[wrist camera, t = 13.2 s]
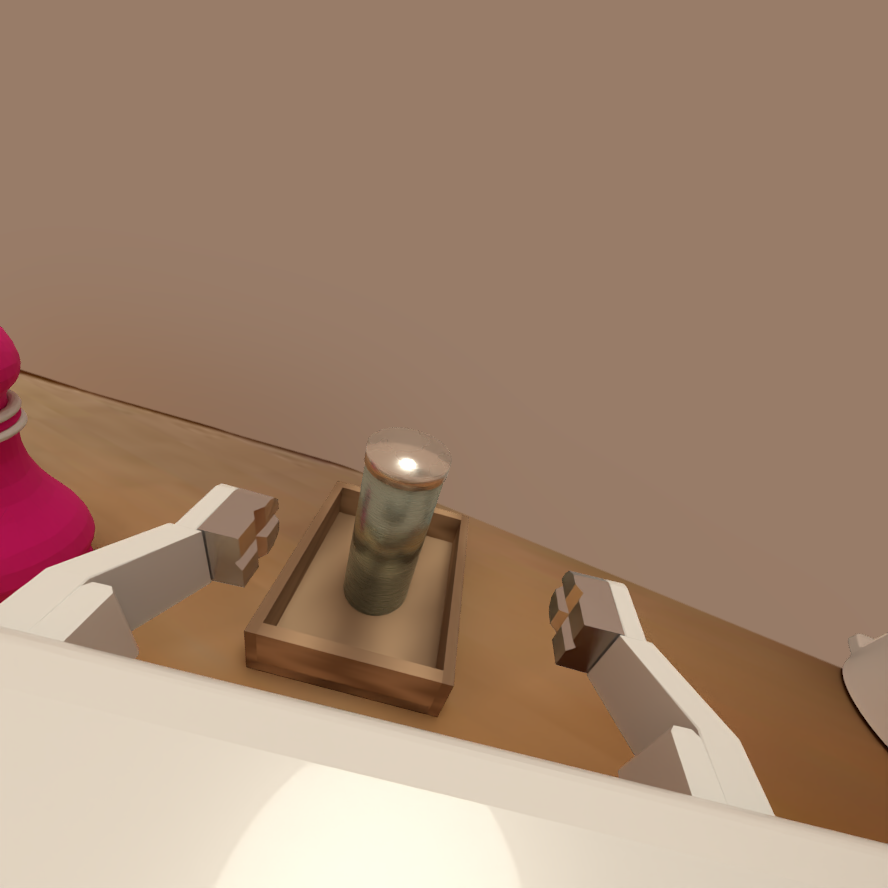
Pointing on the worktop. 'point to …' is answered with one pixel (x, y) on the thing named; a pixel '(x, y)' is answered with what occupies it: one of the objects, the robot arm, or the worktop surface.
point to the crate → (364, 616)
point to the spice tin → (393, 516)
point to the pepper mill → (31, 497)
